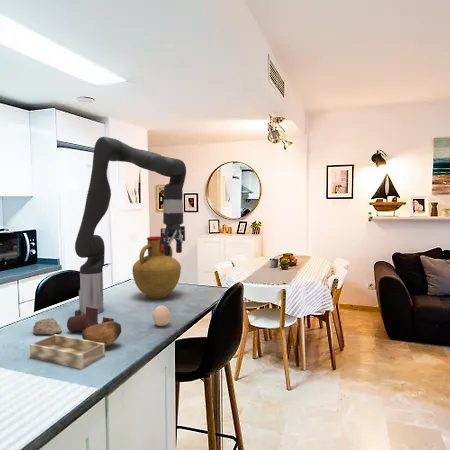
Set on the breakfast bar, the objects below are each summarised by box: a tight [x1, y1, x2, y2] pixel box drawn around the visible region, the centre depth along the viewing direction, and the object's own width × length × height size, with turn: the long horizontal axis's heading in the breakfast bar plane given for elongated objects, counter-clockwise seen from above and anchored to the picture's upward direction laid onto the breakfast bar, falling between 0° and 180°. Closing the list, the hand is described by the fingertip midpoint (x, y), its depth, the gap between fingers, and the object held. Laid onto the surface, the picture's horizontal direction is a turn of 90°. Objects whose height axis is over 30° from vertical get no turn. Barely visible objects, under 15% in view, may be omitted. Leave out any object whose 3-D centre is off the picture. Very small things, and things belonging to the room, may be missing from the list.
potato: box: [81, 320, 122, 348], centre depth 122 cm, size 8×14×8 cm
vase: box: [131, 235, 182, 300], centre depth 185 cm, size 24×24×30 cm
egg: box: [152, 304, 171, 327], centre depth 142 cm, size 7×7×8 cm
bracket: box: [66, 306, 115, 333], centre depth 135 cm, size 6×17×10 cm, turn 78°
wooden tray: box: [29, 333, 106, 370], centre depth 114 cm, size 21×10×4 cm, turn 67°
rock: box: [32, 317, 62, 336], centre depth 136 cm, size 9×6×10 cm
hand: (173, 254), depth 141 cm, fingers open, 8 cm apart
